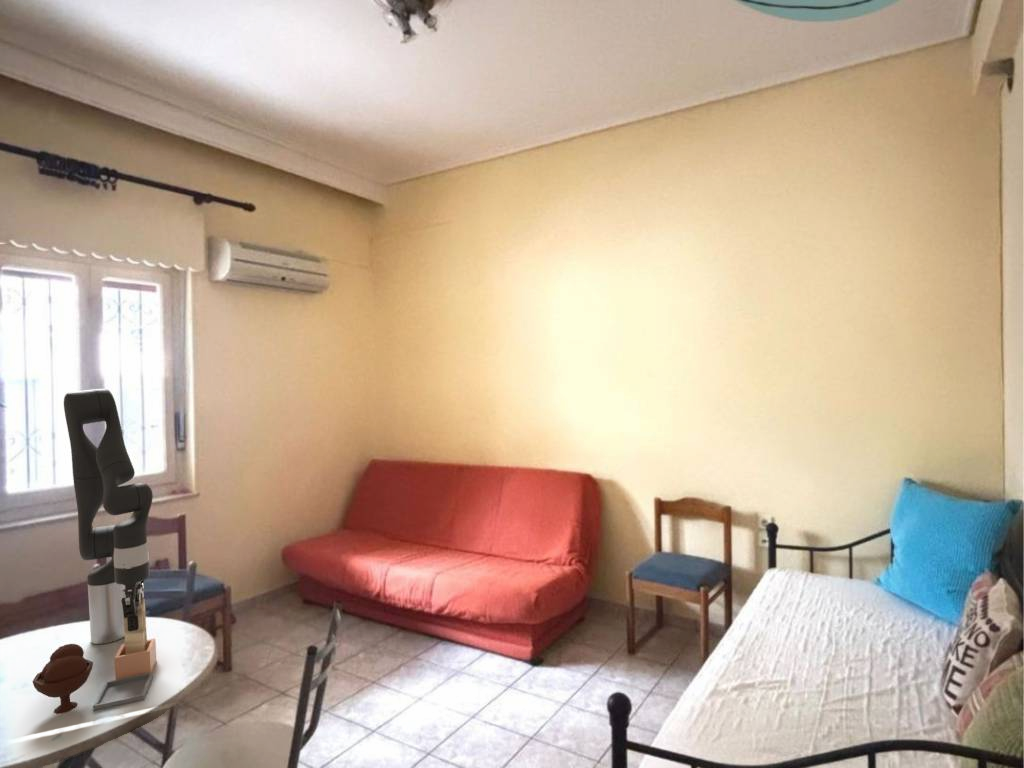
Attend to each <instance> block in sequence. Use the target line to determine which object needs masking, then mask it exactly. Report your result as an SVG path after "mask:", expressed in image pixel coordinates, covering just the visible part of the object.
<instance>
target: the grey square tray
mask: <svg viewBox="0 0 1024 768" xmlns="http://www.w3.org/2000/svg"><path fill="white" fill-rule="evenodd" d="M153 678H154V671H152V672H151V673H146V674H141V675H136V676H132V677H127V678H122V679H117V680H115V679H113V680H109V681H105V683H104V685H103V686H102V688H101V690H100V693H99V694H98V696H97V698H96V700H95V702H94V703H93V705H92V711H93V712H97V711H101V710H106V709H110V708H115V707H120V706H124V705H125V706H126V705H128V704H133V703H137V702H142V701H145V699H146V697H147V694H148V691H149V689H150V686H151V684H152V681H153Z"/></svg>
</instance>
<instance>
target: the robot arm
mask: <svg viewBox="0 0 1024 768" xmlns="http://www.w3.org/2000/svg"><path fill="white" fill-rule="evenodd" d="M63 410H64V417H65V422H66V427H67V432H68V437H69V443H70V450H71V451H70V453H71V464H72V468H71V469H72V480H73V487H74V492H75V493H74V494H75V500H76V508H77V523H78V524H77V525H78V529H77V530H78V549H79V554H80V557H81V559H82V560H84V561H94V560H100V559H107V558H111V560H109V561H108V562H107V563H105V564H104V565H102V566H99V567H97V568H95V569H93V570H92V571H90V572H89V573H88V574H87V594H88V611H89V627H90V628H89V630H90V642H91V643H92V644H94V645H103V643H104V644H109V643H112V641H113V642H115V641H116V642H117V641H119V640H121V639H123V638H125V633H124V618H127V622H128V631H135V630H138V628H139V625H138V614H139V613H138V606H139V605H140V600H143V599H145V598H144V597H145V580H147V579H148V578H149V577H150V575H151V574H150V569H151V568H150V555H149V554H150V553H149V552H150V551H149V547H148V546H149V545H148V539H147V536H148V535H147V524H148V518H149V515H150V514H149V513H150V511H151V507H152V503H153V497H154V495H153V494H154V493H153V491H152V488H151V487H150V486H149V484H147V483H144V482H139V483H132V484H127V483H129V481H131V480H132V479H133V478H134V477H135V473H136V472H135V467H134V465H133V462H132V461H131V459H130V455H129V454H128V450H127V447H126V445H125V441H124V436H123V435H124V434H123V429H122V425H121V421H120V416H119V411H118V408H117V403H116V401H115V398H114V395H113V394H112V392H111V391H110V390H109V389H107V388H95V389H85V390H77V391H70V392H66V394H65V395H64V398H63ZM101 422H104V423H105V431H104V434H103V436H102V437H101V440H100V442H99V444H98V445H97V446H96V445H95V444H94V443H93V442H92V441H91V439H90V438H89V437H88V436H87V435H86V432H85V430H84V425H88V424H92V423H93V424H94V423H95V424H96V423H101ZM123 484H126V485H123ZM102 506H103V509H104V511H105V512H106V513H107V514H109V515H112V516H119V515H124V514H128V513H132V514H131V515H130V517H128V518H127V519H125V520H124V521H121V522H119V523H117V524H111V525H103V526H101V525H100V526H96V527H94V526H93V522H94V520H95V518H96V516H97V513H98V512H99V510H100V509H101V507H102ZM135 602H137V603H135ZM129 610H132V611H133V612H129ZM123 613H124V615H123Z"/></svg>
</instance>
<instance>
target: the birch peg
mask: <svg viewBox="0 0 1024 768" xmlns="http://www.w3.org/2000/svg"><path fill="white" fill-rule="evenodd" d="M135 603H137V602H135ZM129 612H133V611H132V610H129ZM138 613H139V614H138V625H139V628H138V630H135V631H128V622H127V618H124V633H125V637H124V644H125V651H126V654H132V653H137V652H142V651H147V640H148V637H147V617H146V615H147V614H146V599H145V598H144V599H143V600H140V605H139V606H138ZM123 615H124V613H123Z"/></svg>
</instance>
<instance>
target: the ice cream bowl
mask: <svg viewBox="0 0 1024 768" xmlns="http://www.w3.org/2000/svg"><path fill="white" fill-rule="evenodd" d="M84 653H85V651H84V649H83V647H82V646H80V645H79V644H75V643H68V644H64V645H62V646H61V645H60V646H59V647H58V648H56V650H54V652H52V654H50V656H49V661H48V662H47V663H46V664H45V665H44V667H42V670H41V671H40V672H38V673H37V674H35V677H34V678H33V680H31V681H32V684H33V687H34V689H35V691H37V692H38V693H40V694H42V695H44V696H47V697H49V698H59V699H60V705H59V706H57V707H56V708H54V710H53V714H56V715H60V714H65V713H68V712H71V711H73V710H74V709H75V708H77V707H78V705H79V703H78V702H76V701H71V694H72V693H74V692H76V691H77V690H79V689H80V688H81V687H83V685H84V684H85V683H86V682H87V681H88V679H89V677H90V675H91V672H92V671H93V665H94V662H93V661H91V660H88V659H87V658H85V657H84Z"/></svg>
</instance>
